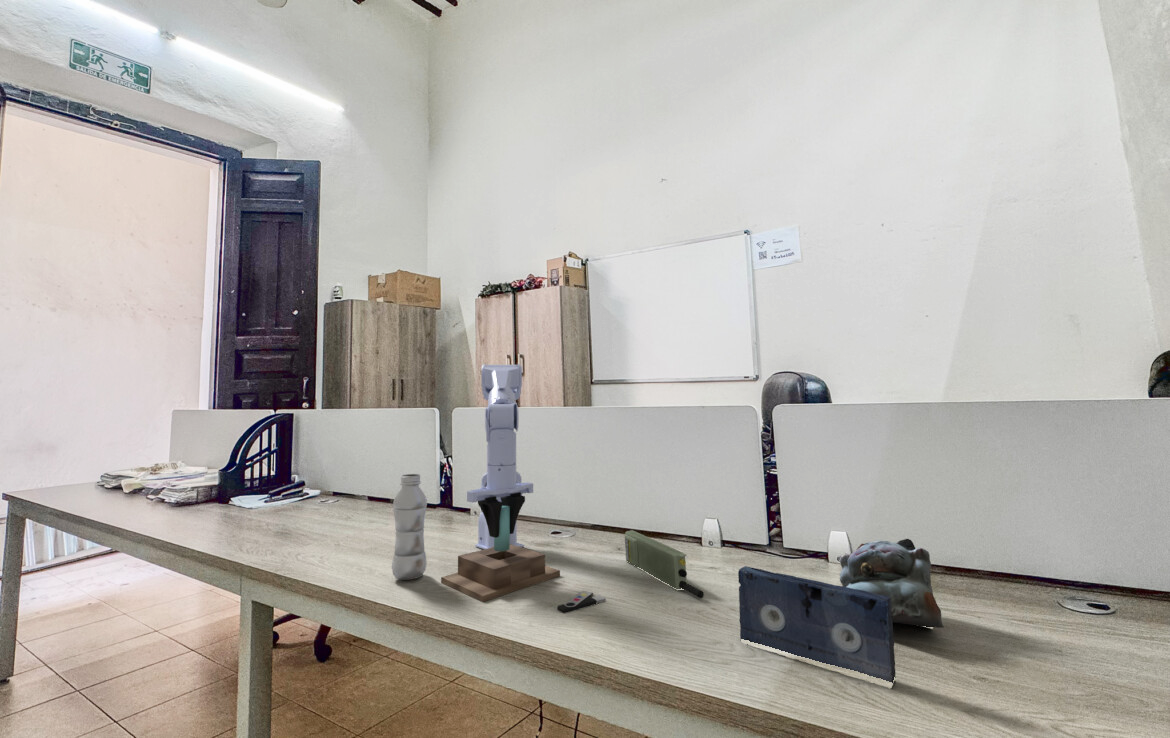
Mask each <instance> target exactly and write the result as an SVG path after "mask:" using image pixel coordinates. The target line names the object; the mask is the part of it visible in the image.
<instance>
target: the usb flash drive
mask: <svg viewBox="0 0 1170 738" xmlns="http://www.w3.org/2000/svg"><path fill="white" fill-rule="evenodd" d="M593 595H594V596H593ZM605 600H606V601H607V599H606V597H605V596H602V595H600V594H599V595H595V594H594V592H593V591H586V590H582V591H580V592H579V593H577V594H576V595H575V596H573V597H572V598H571V599H569V600H568V601H566V602H565V603H562V604H559V605H557V606H556V607H557V609H556V610H557V611H559V612H561V613H563V614H566V613H570V612H574V611H577V610H580V609H584V608H585V609H586V608H587V607H591V605H592V606H595V605H597V604H599V603H598V602H600V603H602V602H601V601H604V602H606V601H605ZM596 603H597V604H596ZM594 604H595V605H594Z"/></svg>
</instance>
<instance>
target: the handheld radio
mask: <svg viewBox="0 0 1170 738" xmlns="http://www.w3.org/2000/svg"><path fill="white" fill-rule="evenodd" d="M624 547H625V548H624V549H625V561H626V562H627V561H628V562H630V563H631V564H633V565H635V566H637V567H639V568H641V569H643V570H644V571H646V572H648V573H649V574H651V575H653V576H654V577H656V578H658V579H660V580H661V581H663V582H665V583H667V584H669V585H670V586H672V587H674V588H676V589H681V588H682V589H684V590H683V591H686V592H687V593H690V594H691V595H692V596H695V597H696V598H698V599H700V600H701V599H704V596H705V592H704V591H703V590H701V589H699V588H698V587H696V586H694V585H692V584H690V583H687V579H688V578H687V575H688V572H687V565H686V564H687V563H686V562H687V561H686V557H687V554H686V553H684V552H683V551H680V550H678V549H675V548H673V547H671V546H669V545H666V544H664V543H663V542H660V541H657V540H656V539H654V538H651V537H648V536H646V535H644V534H642V533H639V532H637V531H635V530H633V529H632V530H631V529H630V530H627V531H625V533H624ZM628 562H627V563H628ZM630 563H629V564H630ZM631 564H630V565H631ZM633 565H632V566H633ZM635 566H634V567H635ZM654 577H653V578H654ZM661 581H660V582H661Z"/></svg>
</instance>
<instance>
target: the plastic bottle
mask: <svg viewBox="0 0 1170 738" xmlns="http://www.w3.org/2000/svg"><path fill="white" fill-rule="evenodd" d="M421 483H422V482H421V474H420V473H407V474H402V475H401V476H400V483H399V484H400V486H401V488H400V489H399V491H398V492H397V494H396V495H395V497H394V499H393V502H392V505H393V506H392V507H393V515H394V516H393V517H394V523H395V525H394V526H395V528H394V529H395V543H394V551H393V554H394V555H393V556H392V557H393V558H392V562H391V569H392V570H391V571H392V575H393V576H394V578H395V579H396V580H401V581H403V580H404V581H406V580H408V581H409V580H414V579H418V578H420V577H422V576H423V575H424V573H425V572H426V570H427V569H426V568H427V564H428V563H427V555H426V550H425V538H424V535H425V534H424V533H425V530H424V529H425V519H426V513H427V505H428V500H427V496H426V495H425V493H424V491H423V490H422V488H421V487H420V485H421Z"/></svg>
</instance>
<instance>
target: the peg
mask: <svg viewBox="0 0 1170 738" xmlns="http://www.w3.org/2000/svg"><path fill="white" fill-rule="evenodd" d="M509 549H510V507H509V506H502V508H501V513H500V521H499V537H496V538H495V537H494V550H495V551H507V550H509Z"/></svg>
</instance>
